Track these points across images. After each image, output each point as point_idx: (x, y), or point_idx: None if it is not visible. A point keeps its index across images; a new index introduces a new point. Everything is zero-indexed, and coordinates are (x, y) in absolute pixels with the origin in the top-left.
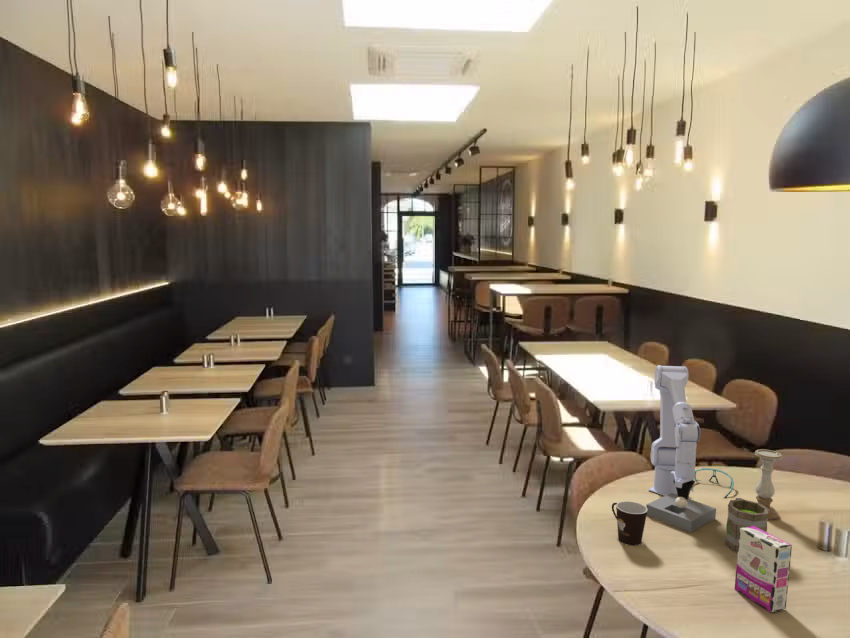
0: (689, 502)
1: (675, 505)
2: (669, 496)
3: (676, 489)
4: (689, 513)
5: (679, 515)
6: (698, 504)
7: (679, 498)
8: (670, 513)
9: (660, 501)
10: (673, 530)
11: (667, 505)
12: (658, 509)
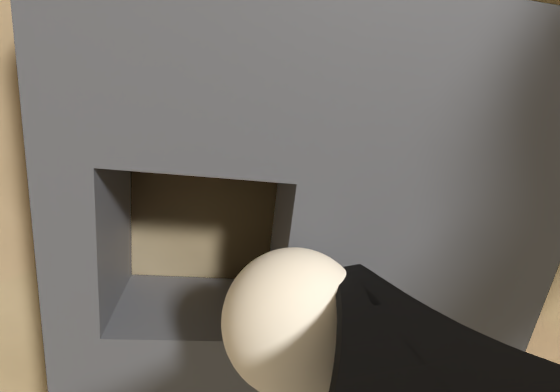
0: (478, 279)
1: (297, 222)
2: (519, 52)
3: (335, 385)
4: (211, 388)
5: (79, 357)
6: None
7: (263, 356)
8: (37, 281)
9: (280, 35)
10: (6, 295)
11: (224, 160)
12: (26, 127)
